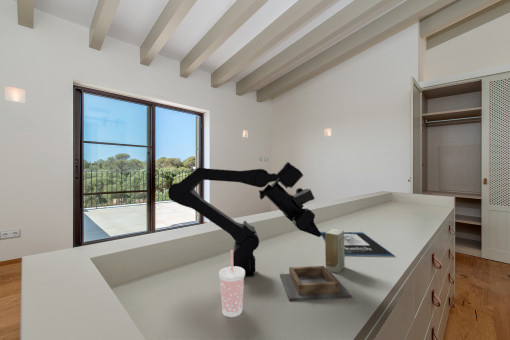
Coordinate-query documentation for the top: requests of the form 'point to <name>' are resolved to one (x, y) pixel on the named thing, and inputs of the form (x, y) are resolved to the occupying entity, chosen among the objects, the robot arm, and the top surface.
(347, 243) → the sketchbook
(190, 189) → the robot arm
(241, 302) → the beverage cup
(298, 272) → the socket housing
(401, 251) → the top surface
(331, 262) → the skincare box
